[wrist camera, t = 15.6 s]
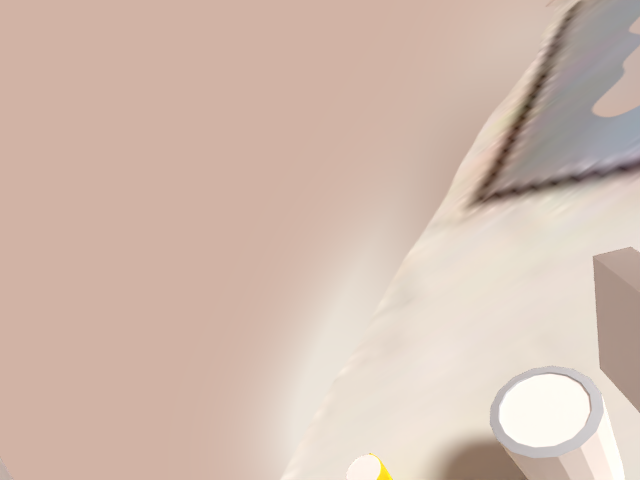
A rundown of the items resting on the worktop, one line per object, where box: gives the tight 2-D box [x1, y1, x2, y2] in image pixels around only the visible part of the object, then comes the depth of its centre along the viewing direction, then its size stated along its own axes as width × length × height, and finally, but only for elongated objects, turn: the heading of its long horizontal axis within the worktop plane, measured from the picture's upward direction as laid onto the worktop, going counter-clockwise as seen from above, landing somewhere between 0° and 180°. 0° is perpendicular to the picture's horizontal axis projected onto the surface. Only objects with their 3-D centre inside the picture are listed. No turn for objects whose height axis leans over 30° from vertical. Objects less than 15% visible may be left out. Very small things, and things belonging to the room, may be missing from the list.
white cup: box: [490, 366, 625, 480], centre depth 36 cm, size 7×7×7 cm
